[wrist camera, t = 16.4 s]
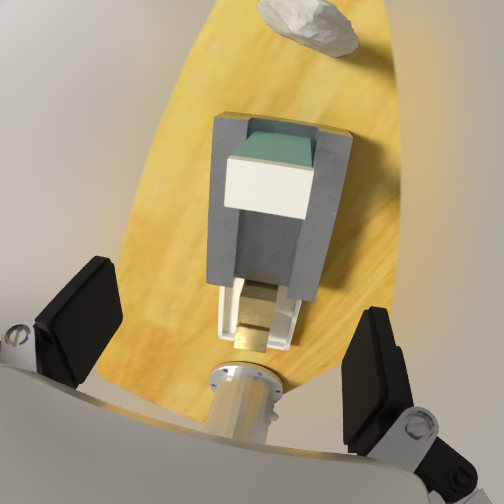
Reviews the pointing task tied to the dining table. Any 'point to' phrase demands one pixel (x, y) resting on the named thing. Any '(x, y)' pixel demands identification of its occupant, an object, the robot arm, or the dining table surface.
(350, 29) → the stone tool
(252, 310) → the gold cube
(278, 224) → the slot board
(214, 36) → the dining table surface
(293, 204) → the teal rectangular block
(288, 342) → the tray
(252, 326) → the chip
